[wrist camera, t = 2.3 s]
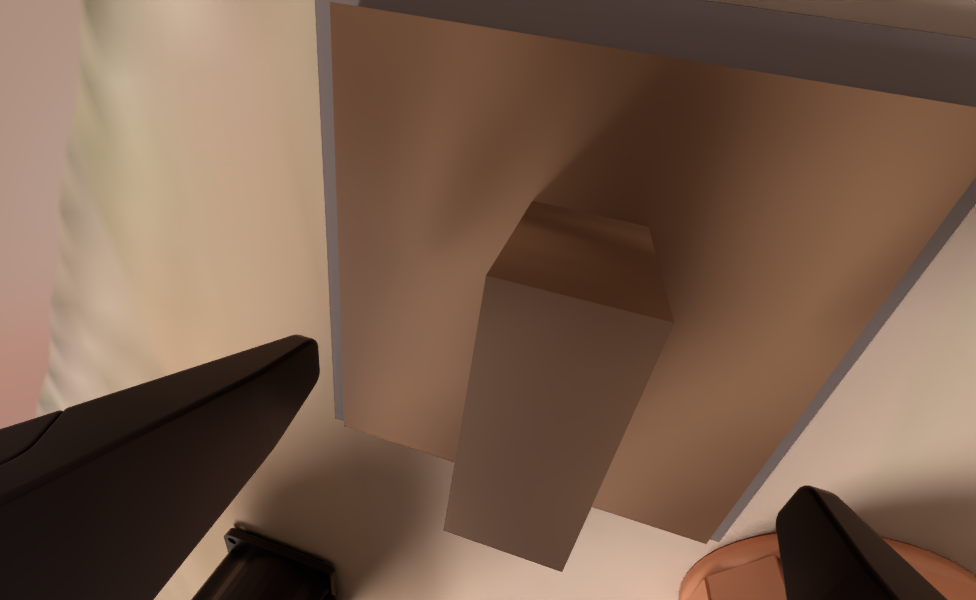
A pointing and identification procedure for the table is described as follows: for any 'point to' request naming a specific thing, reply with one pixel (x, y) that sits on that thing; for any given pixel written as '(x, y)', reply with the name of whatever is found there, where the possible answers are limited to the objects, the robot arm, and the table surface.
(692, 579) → the bowl
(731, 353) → the lid
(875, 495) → the table surface
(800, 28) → the tray
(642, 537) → the table surface
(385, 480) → the table surface
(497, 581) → the table surface
